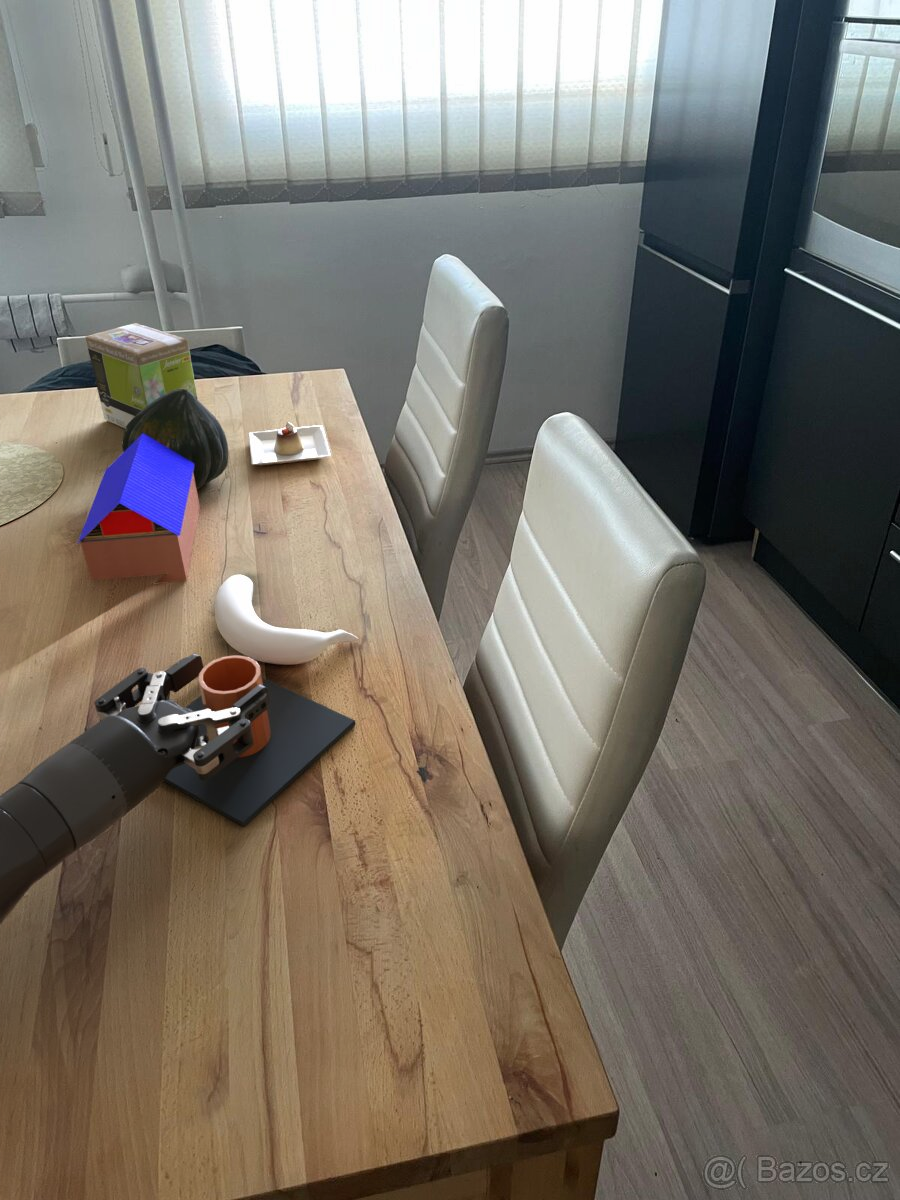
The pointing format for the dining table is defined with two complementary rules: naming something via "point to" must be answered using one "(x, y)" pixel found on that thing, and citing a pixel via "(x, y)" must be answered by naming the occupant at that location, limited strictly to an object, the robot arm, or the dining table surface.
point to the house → (143, 515)
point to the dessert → (288, 445)
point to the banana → (266, 629)
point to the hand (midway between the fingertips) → (231, 677)
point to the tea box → (137, 369)
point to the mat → (266, 756)
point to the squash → (183, 432)
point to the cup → (234, 692)
